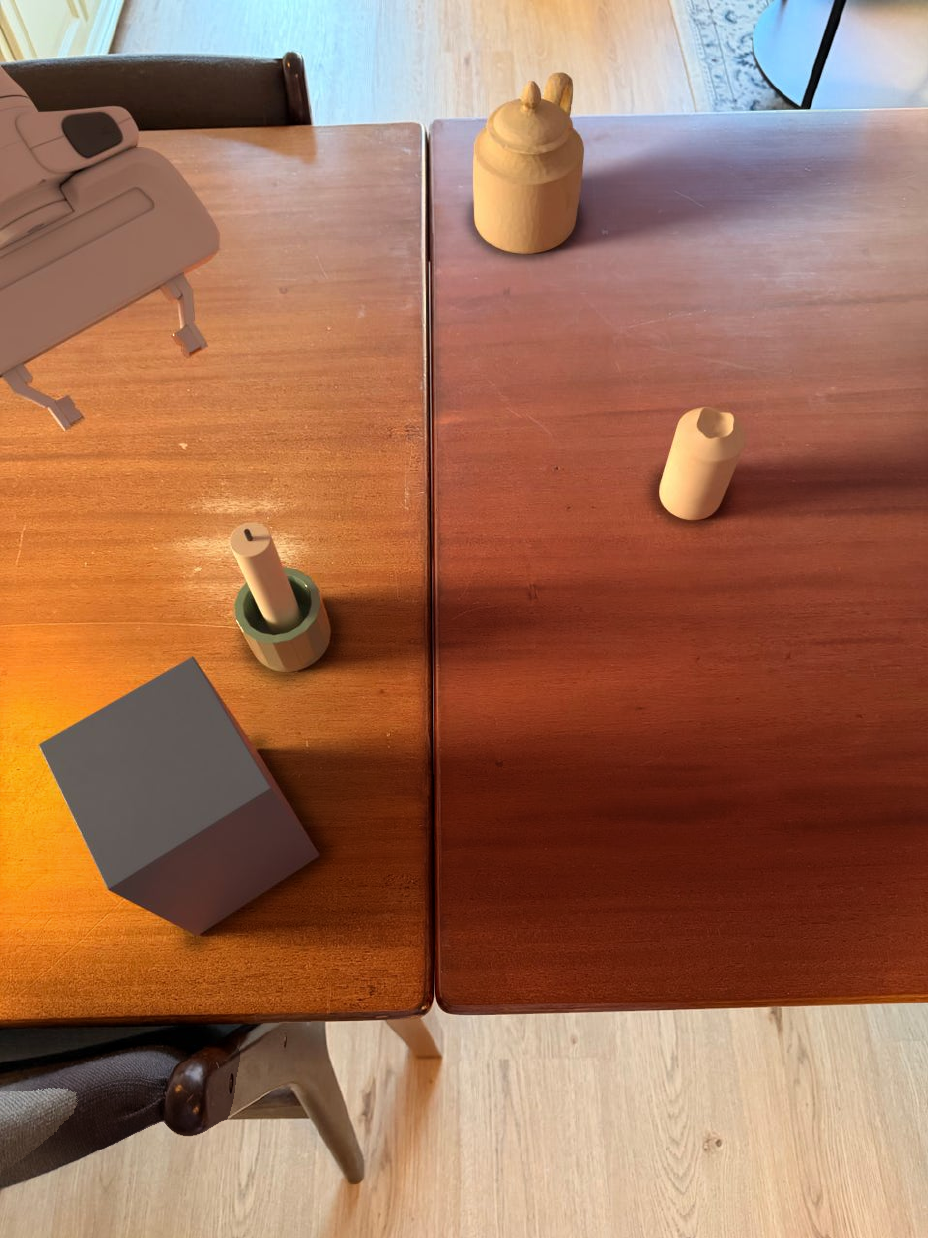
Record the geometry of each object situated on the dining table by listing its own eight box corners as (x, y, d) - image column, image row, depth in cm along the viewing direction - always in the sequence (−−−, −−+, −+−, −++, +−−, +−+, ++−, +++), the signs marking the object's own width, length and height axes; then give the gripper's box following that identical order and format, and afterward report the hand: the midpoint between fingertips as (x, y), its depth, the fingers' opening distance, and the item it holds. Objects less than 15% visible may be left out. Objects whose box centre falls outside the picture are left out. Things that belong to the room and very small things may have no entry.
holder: (274, 687, 72) (259, 658, 67) (236, 626, 75) (219, 594, 70) (345, 644, 74) (335, 613, 69) (305, 586, 76) (293, 553, 72)
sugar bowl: (468, 164, 101) (466, 24, 88) (566, 159, 101) (579, 18, 88) (476, 258, 94) (476, 121, 81) (582, 252, 94) (599, 114, 81)
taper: (289, 653, 73) (245, 556, 59) (265, 633, 74) (216, 533, 60) (313, 629, 74) (276, 528, 60) (289, 609, 75) (247, 506, 61)
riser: (196, 936, 64) (107, 890, 48) (137, 820, 67) (37, 744, 52) (319, 855, 66) (271, 788, 51) (255, 748, 70) (193, 655, 55)
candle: (647, 482, 81) (667, 407, 72) (701, 461, 82) (727, 385, 73) (677, 529, 78) (702, 458, 69) (733, 508, 79) (764, 435, 70)
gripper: (-176, 254, 49) (-5, 473, 54) (148, 95, 55) (274, 307, 60) (-157, 275, 55) (-4, 472, 60) (135, 130, 60) (251, 320, 66)
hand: (137, 388), depth 60 cm, fingers open, 8 cm apart
